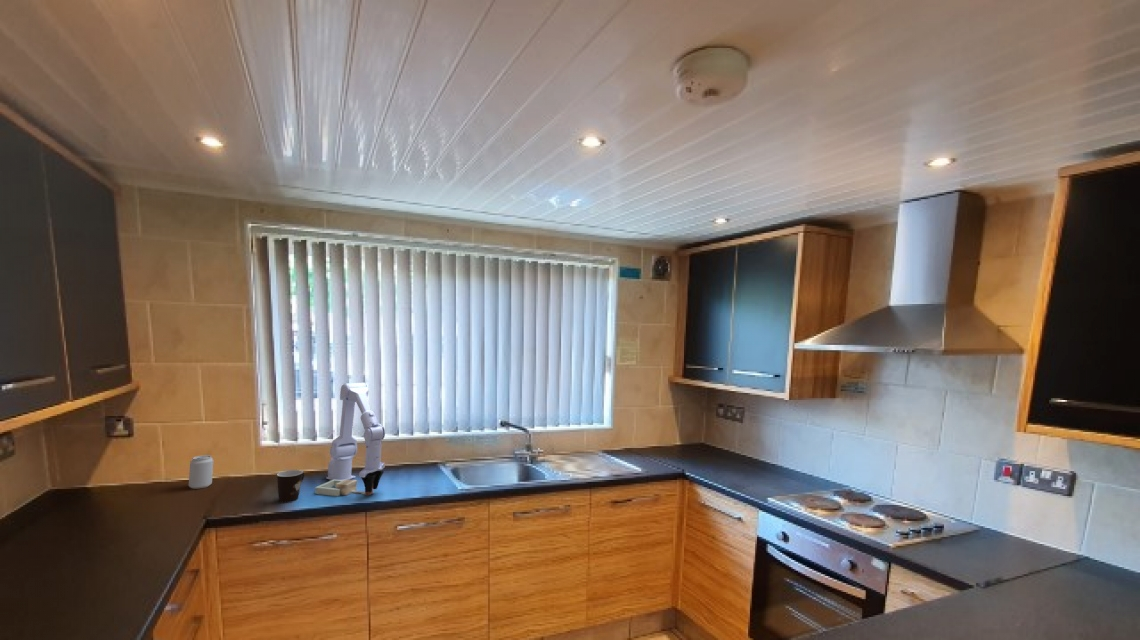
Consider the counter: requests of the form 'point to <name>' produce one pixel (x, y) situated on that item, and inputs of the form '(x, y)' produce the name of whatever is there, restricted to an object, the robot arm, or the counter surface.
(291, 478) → the coffee mug
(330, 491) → the lane
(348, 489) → the wooden toy mallet
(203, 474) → the can
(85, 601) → the counter surface
